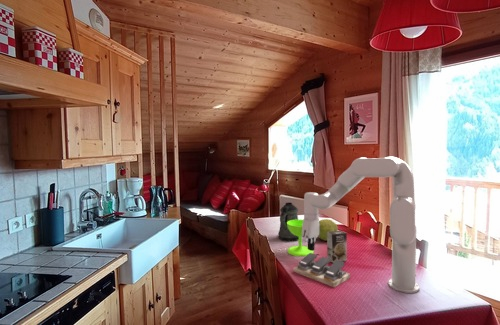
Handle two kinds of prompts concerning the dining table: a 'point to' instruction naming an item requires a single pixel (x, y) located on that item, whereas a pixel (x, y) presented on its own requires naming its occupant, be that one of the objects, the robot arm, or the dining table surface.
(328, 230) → the fruit
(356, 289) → the dining table surface
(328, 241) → the coffee box
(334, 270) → the rocker near
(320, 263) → the rocker middle
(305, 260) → the plate
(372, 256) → the dining table surface
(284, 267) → the dining table surface
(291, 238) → the beer stein
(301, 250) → the wineglass
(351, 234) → the dining table surface
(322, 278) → the switch board
